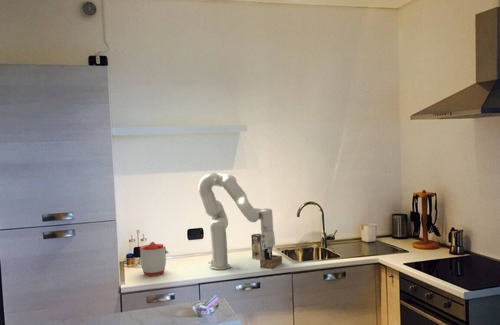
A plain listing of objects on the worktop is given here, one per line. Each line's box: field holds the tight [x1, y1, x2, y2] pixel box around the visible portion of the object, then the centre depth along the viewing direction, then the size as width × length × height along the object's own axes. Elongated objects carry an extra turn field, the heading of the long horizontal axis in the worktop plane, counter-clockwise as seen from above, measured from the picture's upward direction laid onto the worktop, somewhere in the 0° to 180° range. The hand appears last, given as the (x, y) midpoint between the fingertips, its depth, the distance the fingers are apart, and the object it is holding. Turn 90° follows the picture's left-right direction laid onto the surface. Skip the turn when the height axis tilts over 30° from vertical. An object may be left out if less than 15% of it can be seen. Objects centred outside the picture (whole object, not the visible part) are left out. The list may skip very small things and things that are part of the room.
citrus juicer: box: [139, 241, 169, 277], centre depth 288 cm, size 16×17×20 cm
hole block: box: [259, 254, 283, 270], centre depth 295 cm, size 8×14×5 cm, turn 149°
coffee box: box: [251, 233, 266, 261], centre depth 314 cm, size 9×6×16 cm
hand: (268, 257), depth 292 cm, fingers closed on pin, 2 cm apart
